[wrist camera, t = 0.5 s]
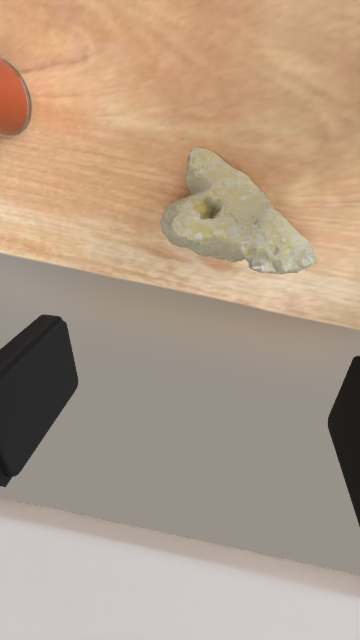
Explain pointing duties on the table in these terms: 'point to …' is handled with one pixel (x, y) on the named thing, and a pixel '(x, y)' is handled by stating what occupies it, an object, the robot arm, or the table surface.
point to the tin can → (13, 101)
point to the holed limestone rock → (233, 220)
